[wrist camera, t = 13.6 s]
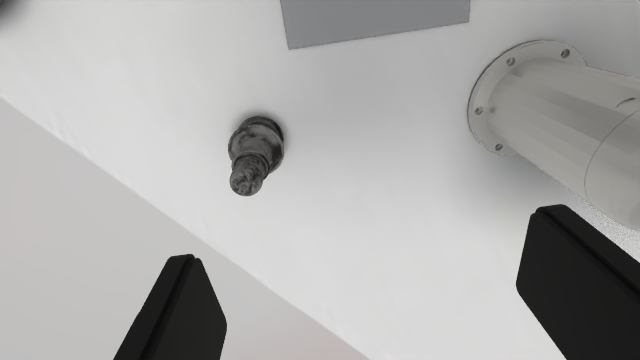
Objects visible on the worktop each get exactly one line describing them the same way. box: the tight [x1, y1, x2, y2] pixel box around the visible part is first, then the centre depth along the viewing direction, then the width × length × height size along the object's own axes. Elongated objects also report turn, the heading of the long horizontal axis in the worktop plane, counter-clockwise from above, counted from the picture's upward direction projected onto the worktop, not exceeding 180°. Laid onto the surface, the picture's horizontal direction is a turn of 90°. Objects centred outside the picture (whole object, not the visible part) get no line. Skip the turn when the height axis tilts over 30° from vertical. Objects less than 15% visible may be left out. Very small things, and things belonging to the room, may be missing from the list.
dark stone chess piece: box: [228, 117, 284, 196], centre depth 32 cm, size 6×6×12 cm
